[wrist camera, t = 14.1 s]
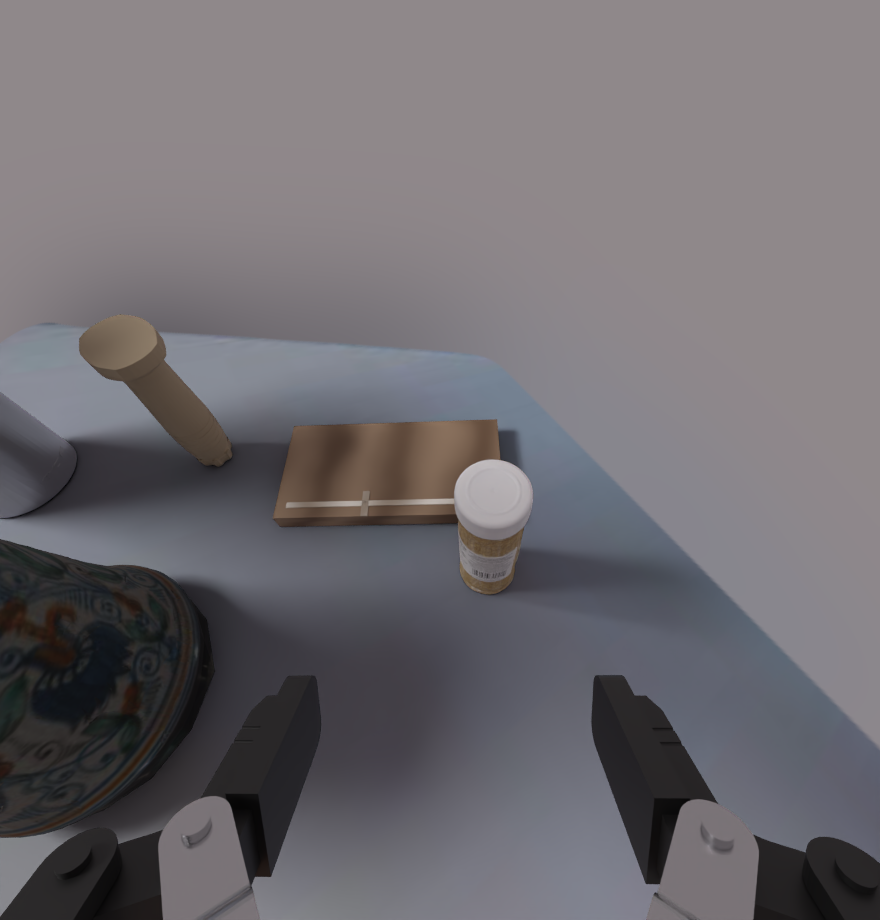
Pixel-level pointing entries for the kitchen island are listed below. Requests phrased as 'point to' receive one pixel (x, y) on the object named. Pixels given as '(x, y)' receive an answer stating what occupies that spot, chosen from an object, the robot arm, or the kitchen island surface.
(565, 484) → the kitchen island surface
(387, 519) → the walnut board
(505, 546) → the sprinkles bottle
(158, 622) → the beer stein
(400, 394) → the kitchen island surface
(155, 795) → the kitchen island surface
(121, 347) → the handle
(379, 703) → the kitchen island surface
